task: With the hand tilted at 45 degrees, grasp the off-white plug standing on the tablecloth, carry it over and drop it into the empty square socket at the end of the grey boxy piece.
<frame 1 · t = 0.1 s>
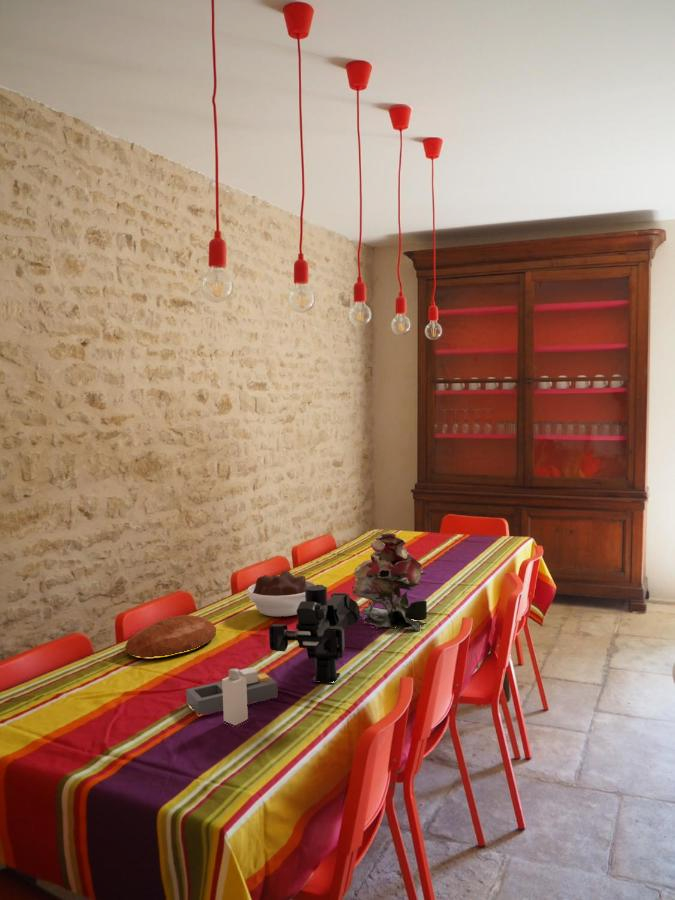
hand: (296, 650, 174), 17 cm above the table, tool horizontal, fingers open, 9 cm apart
white dessert bowl: (283, 613, 264), on the table
grey boxy piece: (232, 701, 186), on the table
bread: (172, 647, 232), on the table
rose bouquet: (389, 619, 253), on the table
plug: (235, 721, 174), on the table
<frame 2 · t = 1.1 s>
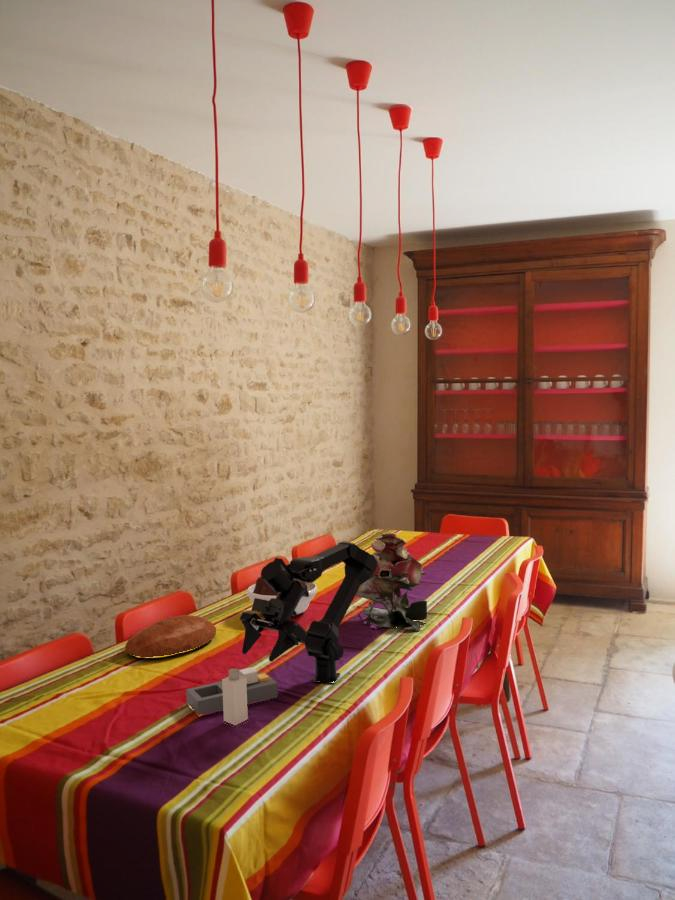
hand: (256, 657, 179), 14 cm above the table, tool tilted 45°, fingers open, 9 cm apart
nothing on the table moved.
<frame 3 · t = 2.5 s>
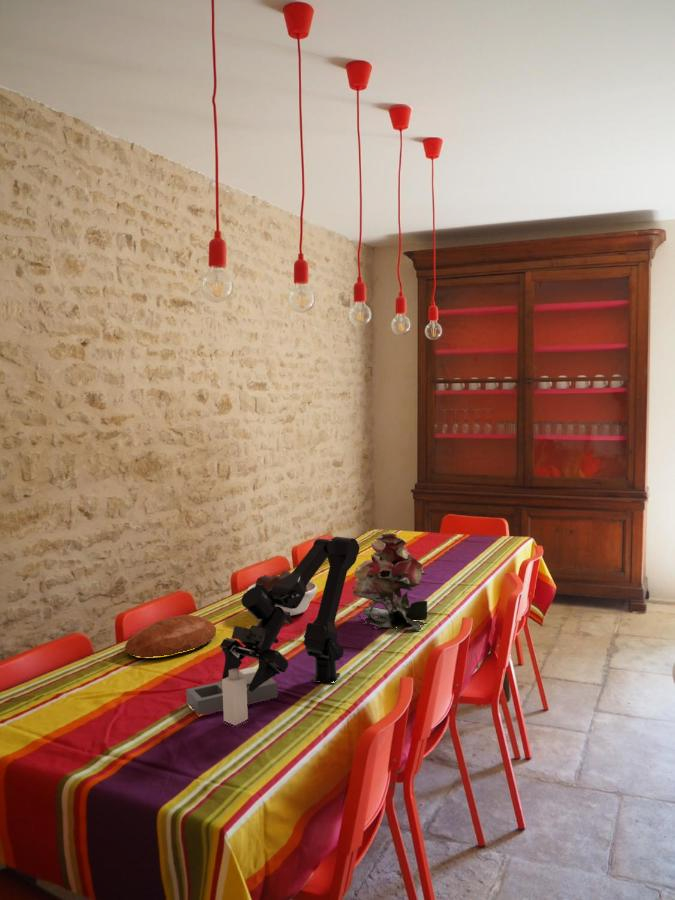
hand: (236, 686, 174), 8 cm above the table, tool tilted 45°, fingers open, 9 cm apart
nothing on the table moved.
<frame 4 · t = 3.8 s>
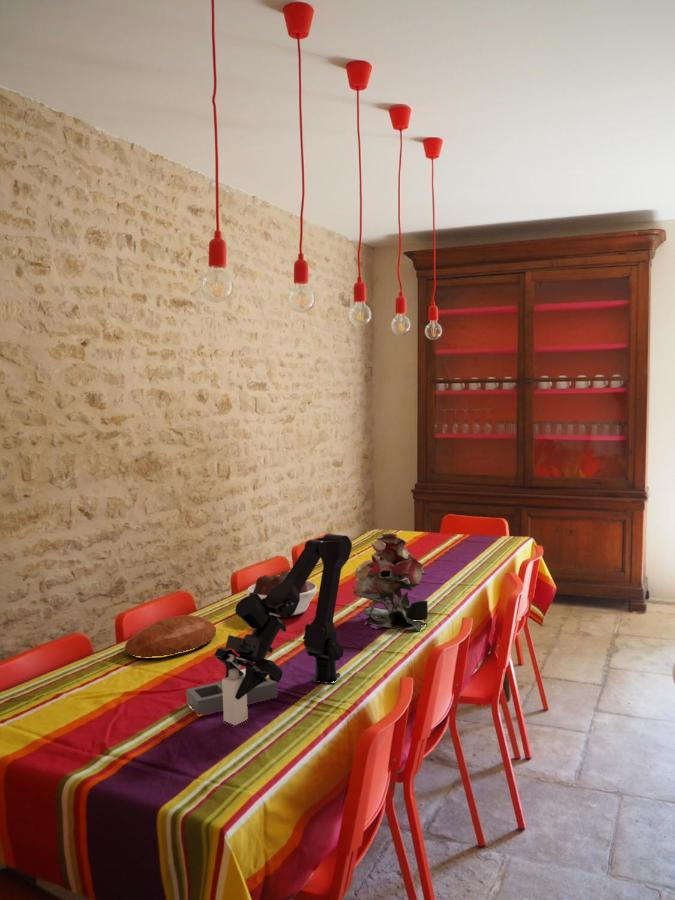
hand: (230, 696, 173), 7 cm above the table, tool tilted 45°, fingers closed on plug, 4 cm apart
plug: (235, 721, 174), on the table, touching gripper
everything else where it was.
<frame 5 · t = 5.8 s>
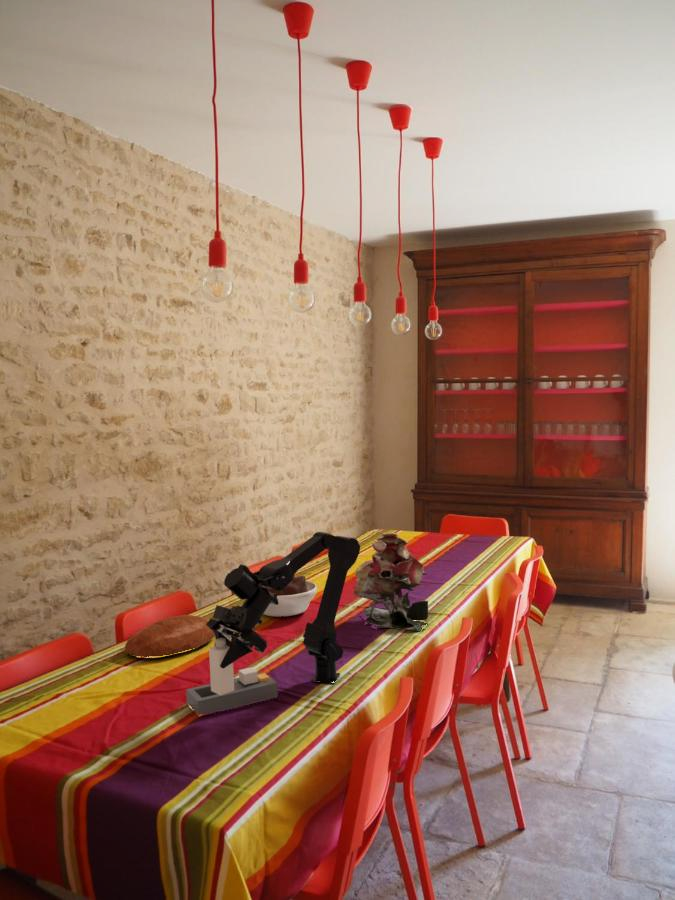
hand: (216, 665, 176), 13 cm above the table, tool tilted 45°, fingers closed on plug, 4 cm apart
plug: (222, 690, 177), point 6 cm above the table, touching gripper
everything else where it was.
when the fingers open (8 cm above the table, at t = 7.9 s): plug drops 1 cm, resting in grey boxy piece.
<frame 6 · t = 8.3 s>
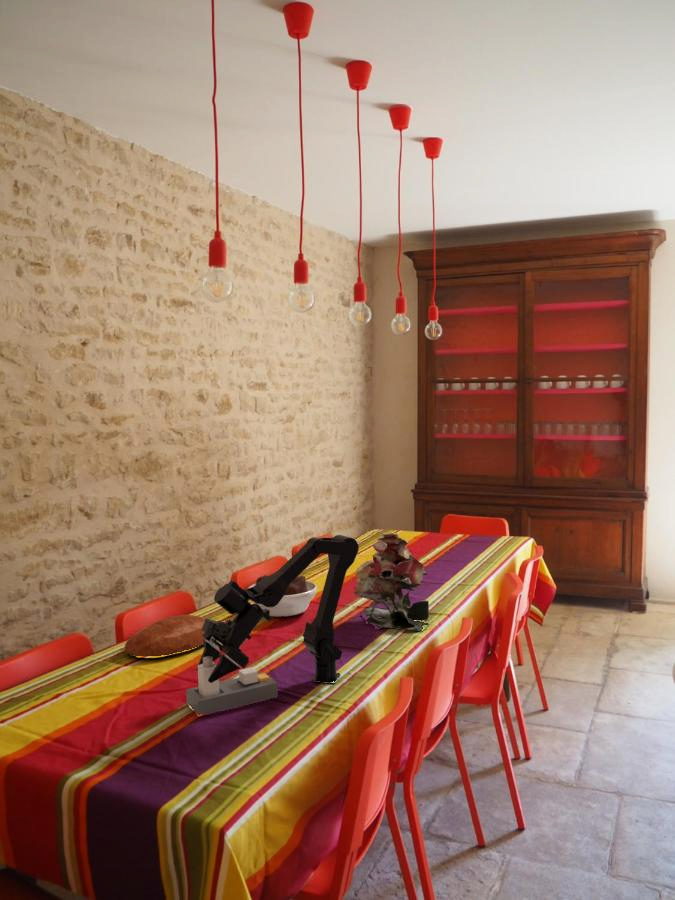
hand: (203, 676, 182), 8 cm above the table, tool tilted 45°, fingers open, 8 cm apart
plug: (209, 707, 183), resting in grey boxy piece
everything else where it was.
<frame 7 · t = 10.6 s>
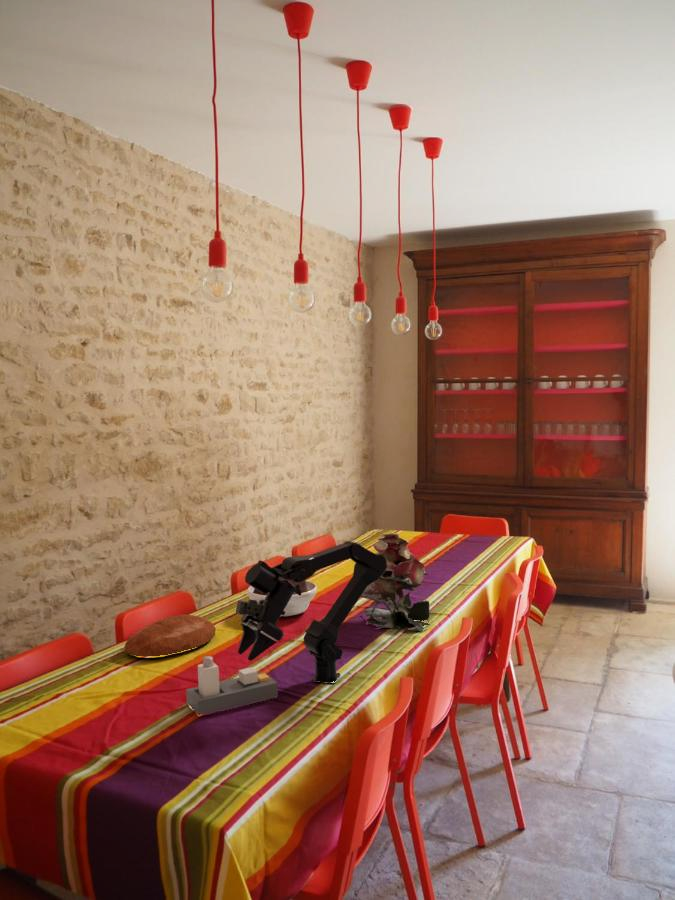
hand: (244, 656, 186), 11 cm above the table, tool tilted 40°, fingers open, 9 cm apart
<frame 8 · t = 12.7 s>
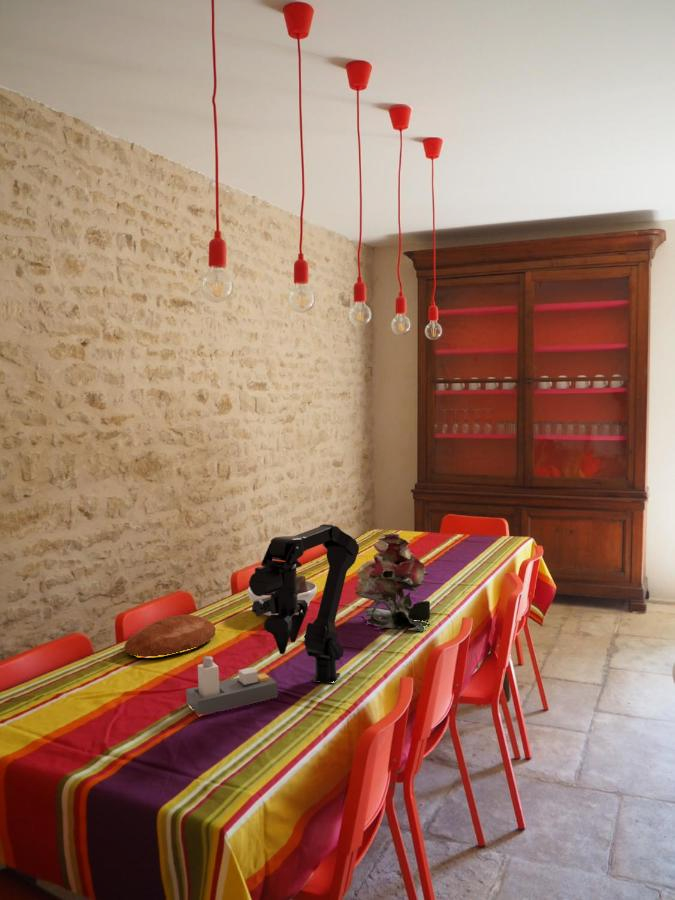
hand: (287, 647, 187), 13 cm above the table, tool pointing down, fingers open, 9 cm apart
at the end: plug 0.1 cm from the target spot, resting in grey boxy piece; plug tilted 0°; the gripper is holding nothing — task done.
